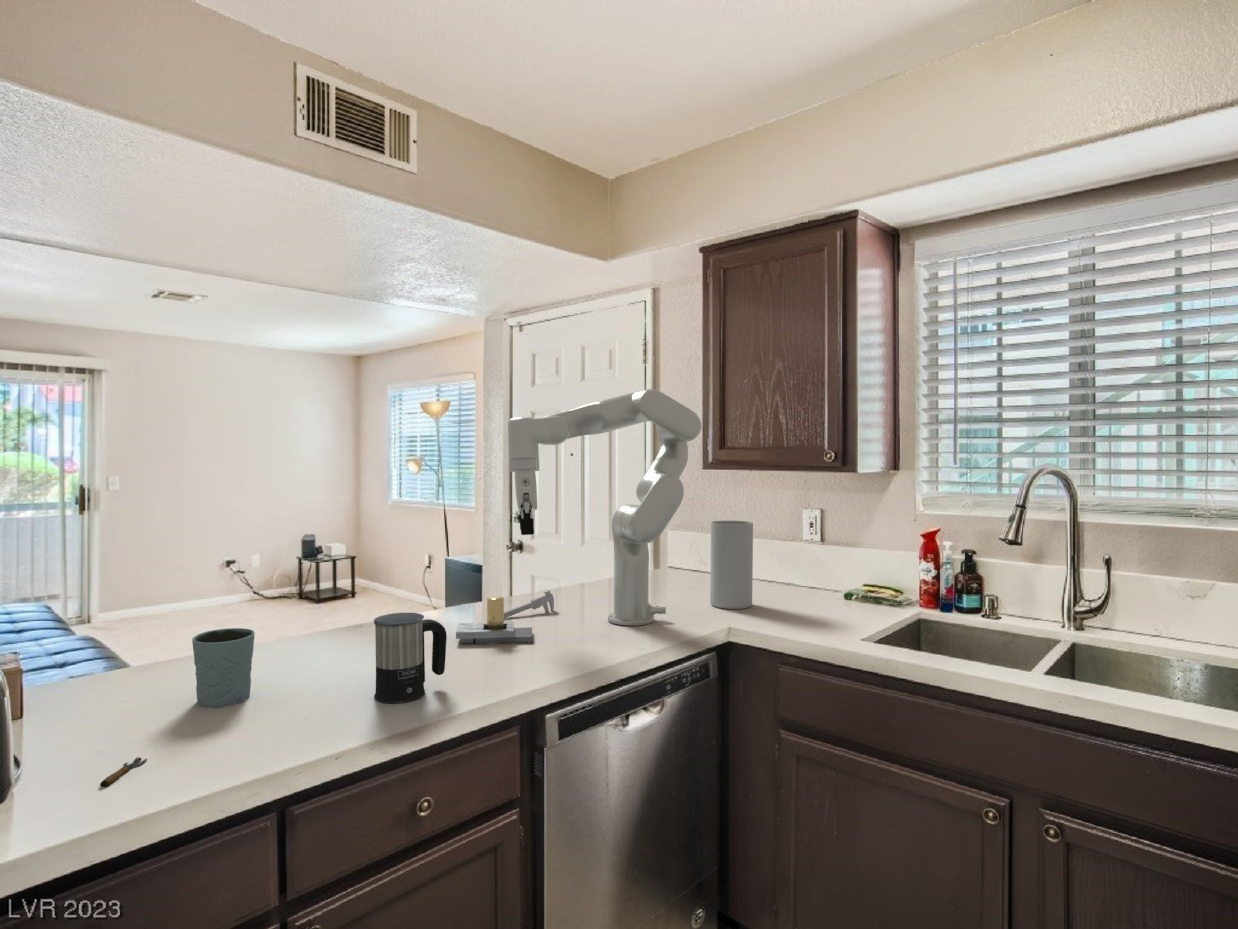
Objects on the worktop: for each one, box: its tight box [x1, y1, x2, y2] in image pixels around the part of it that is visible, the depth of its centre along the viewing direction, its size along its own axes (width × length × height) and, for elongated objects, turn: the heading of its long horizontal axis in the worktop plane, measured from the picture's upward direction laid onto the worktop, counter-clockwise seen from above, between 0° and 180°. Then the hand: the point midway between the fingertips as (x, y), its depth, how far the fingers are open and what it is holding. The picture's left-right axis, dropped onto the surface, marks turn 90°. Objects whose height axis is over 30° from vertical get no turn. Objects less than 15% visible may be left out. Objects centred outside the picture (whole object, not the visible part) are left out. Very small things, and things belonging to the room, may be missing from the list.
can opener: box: [99, 756, 148, 788], centre depth 102 cm, size 9×2×1 cm, turn 178°
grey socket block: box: [455, 621, 533, 645], centre depth 175 cm, size 18×9×3 cm, turn 98°
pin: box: [486, 596, 505, 630], centre depth 175 cm, size 4×4×10 cm
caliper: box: [504, 589, 555, 619], centre depth 200 cm, size 20×1×6 cm, turn 130°
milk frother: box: [373, 612, 447, 704], centre depth 138 cm, size 14×16×15 cm
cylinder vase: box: [709, 520, 754, 610], centre depth 215 cm, size 12×12×25 cm
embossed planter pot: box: [191, 627, 256, 708], centre depth 132 cm, size 10×10×12 cm
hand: (526, 532), depth 183 cm, fingers open, 9 cm apart
